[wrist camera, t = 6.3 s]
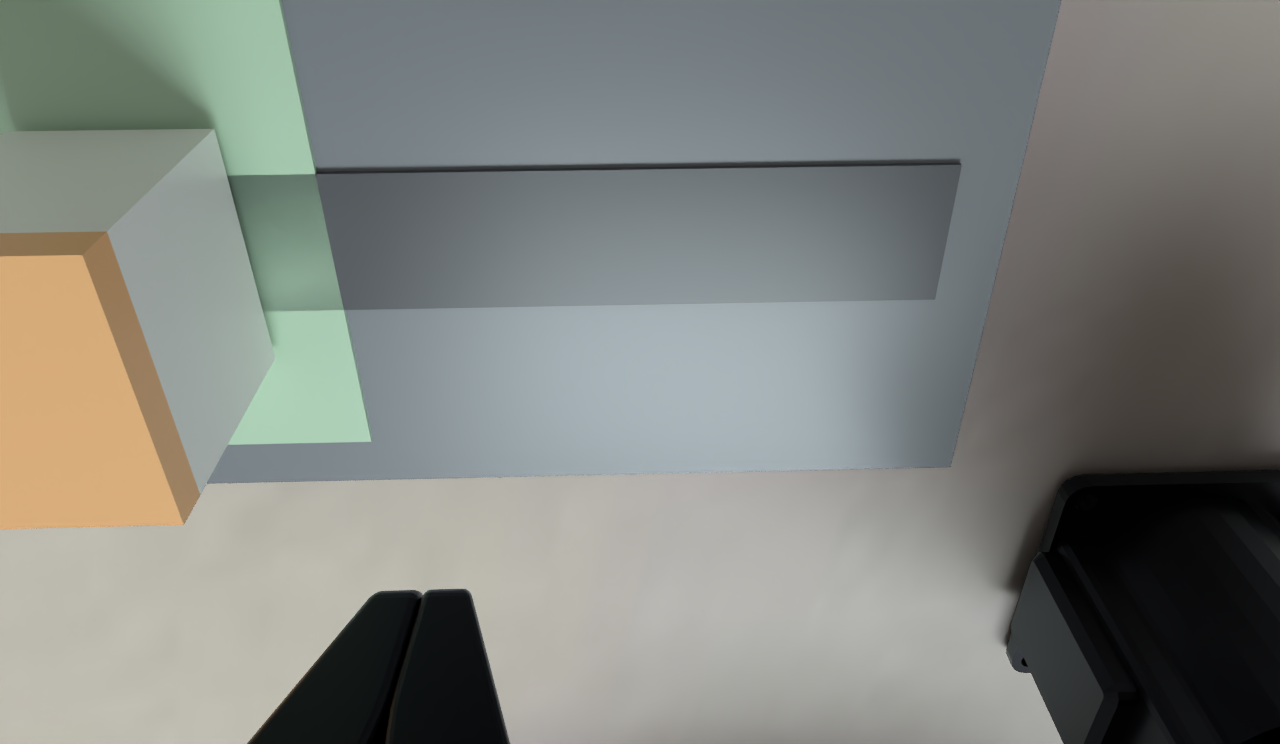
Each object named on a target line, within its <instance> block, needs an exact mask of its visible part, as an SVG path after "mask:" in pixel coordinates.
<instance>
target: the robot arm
mask: <svg viewBox="0 0 1280 744" xmlns="http://www.w3.org/2000/svg"><path fill="white" fill-rule="evenodd" d="M1084 495H1087V496H1085V497H1084V498H1081V499H1079V498H1080V497H1082V496H1084ZM1011 631H1012V634H1011V637H1010V640H1009V643H1008V646H1007V649H1006V654H1007V656H1008V658H1009V660H1010V663H1011V665H1012V667H1013V668H1014V670H1016V671H1018V672H1023V673H1031V674H1032V676H1033V678H1034V681H1035V683H1036V685H1037V687H1038V689H1039V691H1040V694H1041V696H1042V698H1043V700H1044V702H1045V704H1046V707H1047V709H1048V711H1049V713H1050V715H1051V717H1052V720H1053V722H1054V724H1055V726H1056V728H1057V730H1058V732H1059V735H1060V737H1061V739H1062V741H1063V743H1064V744H1280V470H1269V471H1224V472H1180V473H1135V474H1090V475H1080V476H1075V477H1073V478H1071V479H1069V480H1067V481H1066V482H1065V483H1064V484H1063V485H1062V486H1061V487H1060V489H1059V491H1058V493H1057V496H1056V499H1055V502H1054V505H1053V508H1052V511H1051V515H1050V518H1049V521H1048V524H1047V527H1046V530H1045V533H1044V536H1043V539H1042V542H1041V545H1040V548H1039V551H1038V553H1037V555H1036V556H1035V557H1034V559H1033V560H1032V561H1031V564H1030V567H1029V570H1028V573H1027V576H1026V580H1025V583H1024V586H1023V589H1022V592H1021V595H1020V598H1019V601H1018V604H1017V607H1016V610H1015V613H1014V616H1013V620H1012V623H1011ZM247 744H510V742H509V738H508V734H507V730H506V726H505V722H504V718H503V715H502V711H501V707H500V703H499V699H498V695H497V691H496V688H495V684H494V680H493V676H492V672H491V668H490V664H489V660H488V657H487V653H486V649H485V645H484V641H483V637H482V633H481V630H480V626H479V622H478V618H477V614H476V610H475V606H474V603H473V599H472V596H471V593H470V592H469V591H468V590H466V589H439V590H428V591H427V592H425V594H424V595H422V593H420V592H419V591H415V590H403V591H380V592H377V593H375V594H374V595H372V596H371V597H370V598H369V599H368V600H367V601H366V603H365V604H364V605H363V606H362V607H361V609H360V610H359V611H358V612H357V613H356V615H355V616H354V617H353V618H352V619H351V621H350V622H349V623H348V624H347V625H346V626H345V628H344V629H343V630H342V631H341V632H340V634H339V635H338V636H337V637H336V638H335V640H334V641H333V642H332V643H331V644H330V646H329V647H328V648H327V649H326V650H325V652H324V653H323V654H322V655H321V656H320V657H319V659H318V660H317V661H316V662H315V663H314V665H313V666H312V667H311V668H310V669H309V671H308V672H307V673H306V674H305V675H304V677H303V678H302V679H301V680H300V681H299V683H298V684H297V685H296V686H295V687H294V688H293V690H292V691H291V692H290V693H289V694H288V696H287V697H286V698H285V699H284V700H283V702H282V703H281V704H280V705H279V706H278V708H277V709H276V710H275V711H274V712H273V714H272V715H271V716H270V717H269V718H268V719H267V721H266V722H265V723H264V724H263V725H262V727H261V728H260V729H259V730H258V731H257V733H256V734H255V735H254V736H253V737H252V739H251V740H250V741H249V742H248V743H247Z"/></svg>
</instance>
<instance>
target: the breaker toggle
mask: <svg viewBox="0 0 1280 744" xmlns="http://www.w3.org/2000/svg"><path fill="white" fill-rule="evenodd" d="M274 359H275V355H274V351H273V348H272V344H271V340H270V336H269V333H268V329H267V325H266V321H265V318H264V314H263V310H262V306H261V303H260V299H259V295H258V291H257V287H256V284H255V280H254V276H253V272H252V269H251V265H250V261H249V257H248V254H247V250H246V246H245V242H244V239H243V235H242V231H241V227H240V223H239V220H238V216H237V212H236V208H235V205H234V201H233V197H232V193H231V190H230V186H229V182H228V178H227V175H226V171H225V167H224V163H223V159H222V156H221V152H220V148H219V144H218V141H217V137H216V133H215V129H154V130H78V131H6V132H5V133H3V134H1V135H0V529H27V528H70V527H113V526H157V525H184V524H185V522H186V520H187V518H188V516H189V515H190V513H191V511H192V509H193V507H194V505H195V504H196V502H197V500H198V498H199V496H200V495H201V493H202V491H203V489H204V487H205V485H206V484H207V482H208V480H209V478H210V476H211V474H212V473H213V471H214V469H215V467H216V465H217V463H218V462H219V460H220V458H221V456H222V454H223V453H224V451H225V449H226V447H227V445H228V443H229V442H230V440H231V438H232V436H233V434H234V432H235V431H236V429H237V427H238V425H239V423H240V421H241V420H242V418H243V416H244V414H245V412H246V411H247V409H248V407H249V405H250V403H251V401H252V400H253V398H254V396H255V394H256V392H257V390H258V389H259V387H260V385H261V383H262V381H263V380H264V378H265V376H266V374H267V372H268V370H269V369H270V367H271V365H272V363H273V361H274Z"/></svg>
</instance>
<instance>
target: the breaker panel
mask: <svg viewBox="0 0 1280 744" xmlns="http://www.w3.org/2000/svg"><path fill="white" fill-rule="evenodd" d="M1060 4H1061V0H0V135H1V134H3V133H5V132H6V131H78V130H154V129H215V133H216V137H217V141H218V144H219V148H220V152H221V156H222V159H223V163H224V167H225V171H226V175H227V178H228V182H229V186H230V190H231V193H232V197H233V201H234V205H235V208H236V212H237V216H238V220H239V223H240V227H241V231H242V235H243V239H244V242H245V246H246V250H247V254H248V257H249V261H250V265H251V269H252V272H253V276H254V280H255V284H256V287H257V291H258V295H259V299H260V303H261V306H262V310H263V314H264V318H265V321H266V325H267V329H268V333H269V336H270V340H271V344H272V348H273V351H274V355H275V359H274V361H273V363H272V365H271V367H270V369H269V370H268V372H267V374H266V376H265V378H264V380H263V381H262V383H261V385H260V387H259V389H258V390H257V392H256V394H255V396H254V398H253V400H252V401H251V403H250V405H249V407H248V409H247V411H246V412H245V414H244V416H243V418H242V420H241V421H240V423H239V425H238V427H237V429H236V431H235V432H234V434H233V436H232V438H231V440H230V442H229V443H228V445H227V447H226V449H225V451H224V453H223V454H222V456H221V458H220V460H219V462H218V463H217V465H216V467H215V469H214V471H213V473H212V474H211V476H210V478H209V480H208V482H207V484H210V483H255V482H300V481H345V480H391V479H436V478H481V477H527V476H572V475H617V474H663V473H708V472H753V471H799V470H844V469H889V468H934V467H951V463H952V459H953V454H954V450H955V446H956V442H957V438H958V433H959V429H960V425H961V421H962V416H963V412H964V408H965V404H966V400H967V395H968V391H969V387H970V383H971V379H972V374H973V370H974V366H975V362H976V358H977V353H978V349H979V345H980V341H981V337H982V332H983V328H984V324H985V320H986V316H987V311H988V307H989V303H990V299H991V294H992V290H993V286H994V282H995V278H996V273H997V269H998V265H999V261H1000V257H1001V252H1002V248H1003V244H1004V240H1005V236H1006V231H1007V227H1008V223H1009V219H1010V215H1011V210H1012V206H1013V202H1014V198H1015V194H1016V189H1017V185H1018V181H1019V177H1020V173H1021V168H1022V164H1023V160H1024V156H1025V151H1026V147H1027V143H1028V139H1029V135H1030V130H1031V126H1032V122H1033V118H1034V114H1035V109H1036V105H1037V101H1038V97H1039V93H1040V88H1041V84H1042V80H1043V76H1044V72H1045V67H1046V63H1047V59H1048V55H1049V51H1050V46H1051V42H1052V38H1053V34H1054V29H1055V25H1056V21H1057V17H1058V13H1059V8H1060Z"/></svg>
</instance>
